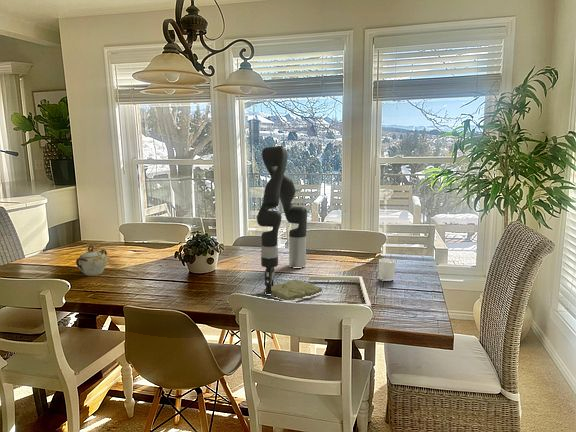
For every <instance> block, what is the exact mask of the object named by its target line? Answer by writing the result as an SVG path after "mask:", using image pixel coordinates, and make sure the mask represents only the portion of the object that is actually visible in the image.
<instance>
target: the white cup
mask: <svg viewBox="0 0 576 432" xmlns="http://www.w3.org/2000/svg"><path fill="white" fill-rule="evenodd" d="M395 268H396V259H393V258H387V257H386V258H380V259H378V274H379V277H380V278H382V279H393V278H394V277H395V271H396V269H395ZM379 277H378V278H379ZM394 279H395V278H394ZM394 279H393V280H394Z"/></svg>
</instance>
